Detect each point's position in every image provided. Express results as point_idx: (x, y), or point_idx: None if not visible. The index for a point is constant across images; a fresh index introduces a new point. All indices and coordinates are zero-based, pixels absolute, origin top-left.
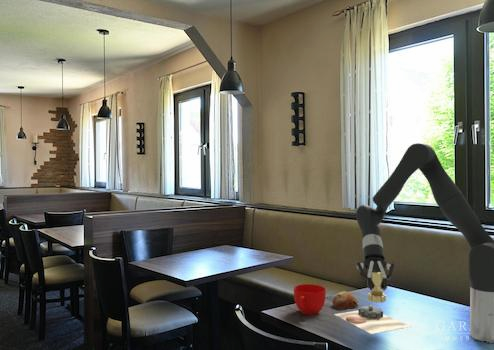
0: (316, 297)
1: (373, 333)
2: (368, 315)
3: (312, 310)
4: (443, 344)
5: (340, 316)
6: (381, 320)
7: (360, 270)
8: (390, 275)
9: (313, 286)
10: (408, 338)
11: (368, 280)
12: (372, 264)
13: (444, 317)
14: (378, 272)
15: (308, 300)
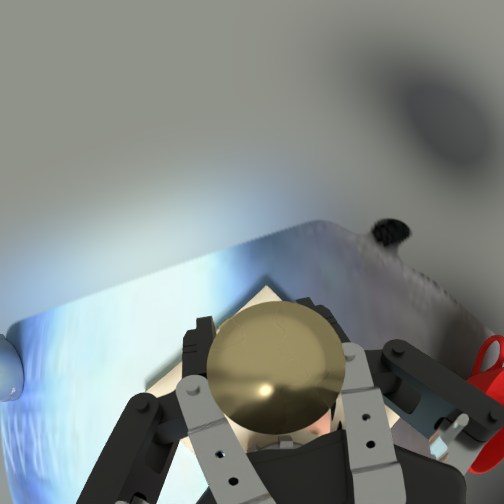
0: (477, 387)
1: (260, 293)
2: (289, 438)
3: None
4: (76, 306)
5: None
6: (240, 431)
7: (444, 368)
8: (135, 406)
9: (487, 466)
10: (154, 326)
11: (339, 336)
12: (364, 473)
13: (73, 499)
14: (260, 378)
15: (485, 373)
